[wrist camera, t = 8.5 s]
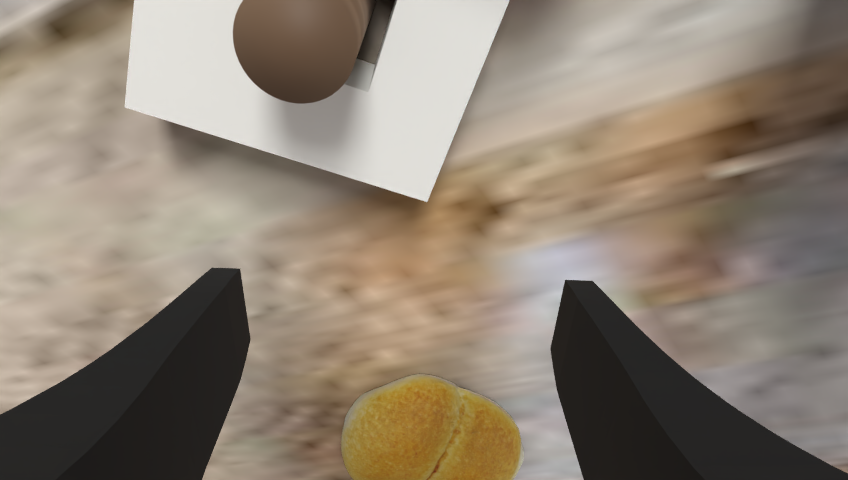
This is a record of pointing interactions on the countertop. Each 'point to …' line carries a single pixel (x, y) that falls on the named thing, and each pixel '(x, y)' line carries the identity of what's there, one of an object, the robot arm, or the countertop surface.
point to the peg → (300, 45)
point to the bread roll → (429, 434)
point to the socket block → (337, 114)
